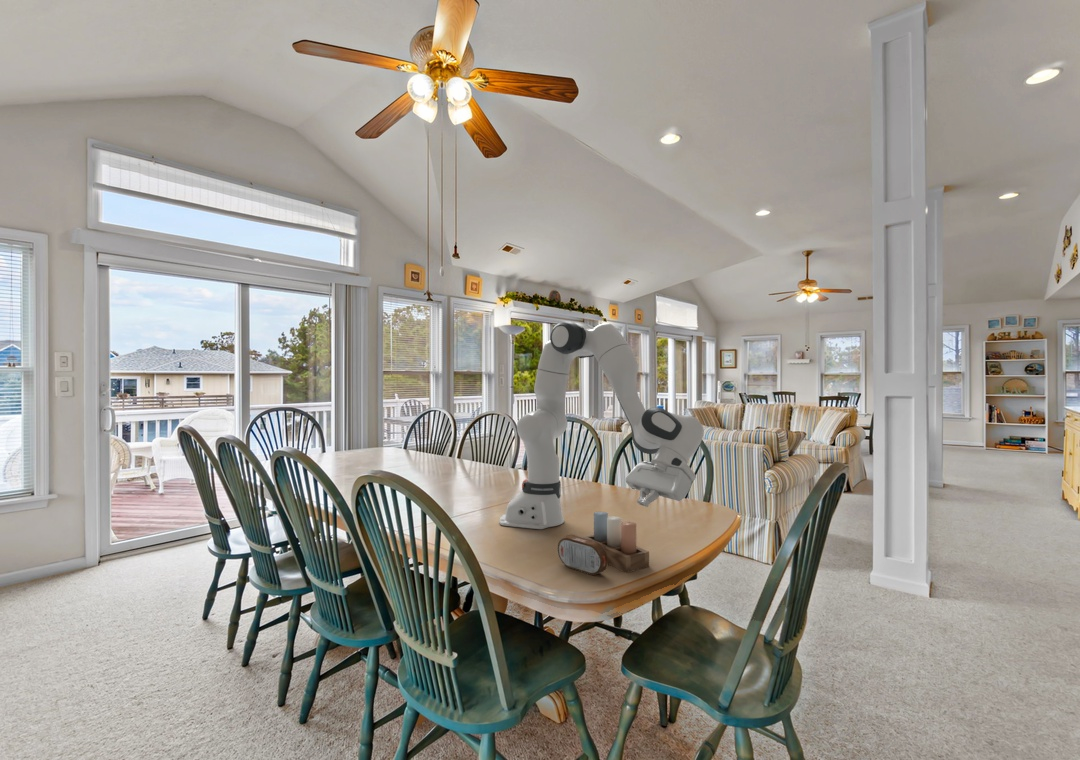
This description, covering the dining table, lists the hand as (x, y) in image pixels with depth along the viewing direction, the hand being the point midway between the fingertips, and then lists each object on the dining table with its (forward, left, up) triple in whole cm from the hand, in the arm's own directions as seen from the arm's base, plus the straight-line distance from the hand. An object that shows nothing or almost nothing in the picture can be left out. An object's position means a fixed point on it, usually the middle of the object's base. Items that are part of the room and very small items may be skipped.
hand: (641, 504), depth 138 cm
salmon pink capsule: (-4, -3, -13) cm, 13 cm away
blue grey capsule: (-11, +6, -12) cm, 18 cm away
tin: (-16, -8, -16) cm, 24 cm away
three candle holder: (-8, +2, -16) cm, 18 cm away
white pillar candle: (-8, +2, -12) cm, 15 cm away
